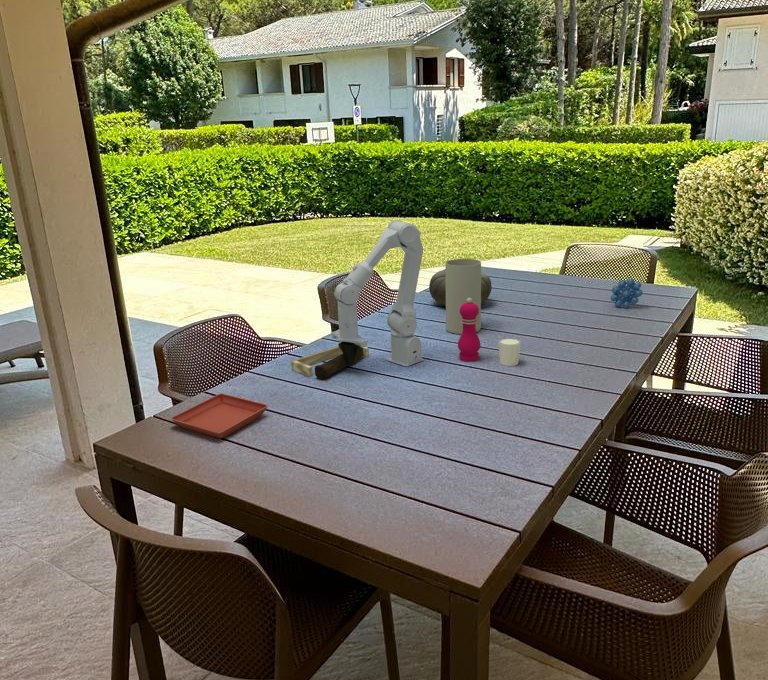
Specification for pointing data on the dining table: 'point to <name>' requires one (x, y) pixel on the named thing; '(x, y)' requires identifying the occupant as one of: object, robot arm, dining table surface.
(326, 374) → the hand tool
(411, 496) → the dining table surface
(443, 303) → the gourd
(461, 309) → the pepper mill
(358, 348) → the robot arm
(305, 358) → the beige bent bracket
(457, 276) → the cylinder vase
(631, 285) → the grapes
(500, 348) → the cream cylinder
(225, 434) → the plant saucer
